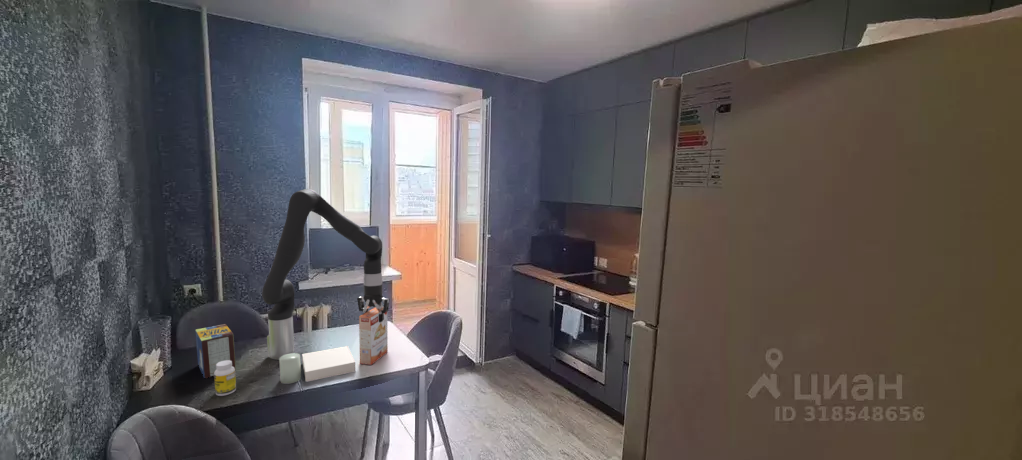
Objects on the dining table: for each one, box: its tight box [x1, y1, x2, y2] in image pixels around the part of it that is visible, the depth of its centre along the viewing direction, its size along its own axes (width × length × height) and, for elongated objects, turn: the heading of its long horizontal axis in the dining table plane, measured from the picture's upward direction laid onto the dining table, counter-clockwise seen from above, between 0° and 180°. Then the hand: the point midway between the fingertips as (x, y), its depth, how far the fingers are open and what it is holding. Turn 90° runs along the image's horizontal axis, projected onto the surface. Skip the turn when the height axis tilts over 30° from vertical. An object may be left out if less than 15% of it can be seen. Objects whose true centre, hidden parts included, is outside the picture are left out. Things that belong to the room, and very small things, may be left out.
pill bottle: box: [213, 360, 237, 397], centre depth 146 cm, size 6×6×11 cm
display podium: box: [301, 345, 356, 382], centre depth 167 cm, size 18×18×4 cm
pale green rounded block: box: [278, 352, 302, 385], centre depth 157 cm, size 7×7×9 cm
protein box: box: [194, 323, 237, 379], centre depth 164 cm, size 10×15×16 cm
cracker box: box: [358, 306, 389, 366], centre depth 176 cm, size 14×6×21 cm, turn 168°
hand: (373, 321), depth 175 cm, fingers closed on cracker box, 6 cm apart
